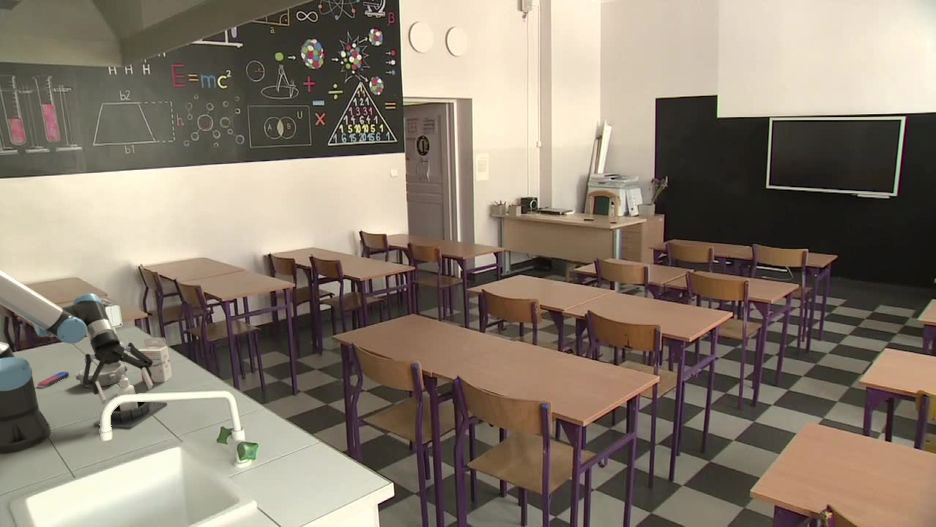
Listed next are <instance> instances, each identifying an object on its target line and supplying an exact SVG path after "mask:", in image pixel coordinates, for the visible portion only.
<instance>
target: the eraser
mask: <svg viewBox="0 0 936 527" xmlns="http://www.w3.org/2000/svg"><path fill="white" fill-rule="evenodd" d="M69 374H70V373H69V371H68V372H67V371H61V372H58V373H55V374H53V375H51V376H50V377H48V378H46V379H44V380H42V381H40V382H38V383H37V388H38V389H46V388H49V387H52V386H53V384H54V385H55V383H56V384H57V382H58V381H60V380H62V379H64V378H66V377H68V376H69V377H70V375H69ZM69 377H68V378H69ZM66 379H67V378H66ZM64 380H65V379H64ZM62 381H63V380H62ZM60 382H61V381H60ZM58 383H59V382H58Z"/></svg>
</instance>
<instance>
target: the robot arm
mask: <svg viewBox="0 0 936 527" xmlns="http://www.w3.org/2000/svg"><path fill="white" fill-rule="evenodd" d="M0 305H1V306H2V307H5V308H6V309H8V310H10V311H11V312H14V313H15V314H16V315H18V316H20V317H21V318H23V319H25V320H26V321H29V323H32V324H33V328H34V330H35V332H36V334H37V336H38V337H40V338H44V337H51V336H54V337H55V338H57V339H58V340H59V341H61V342H62V343H65V344H70V345H71V344H77V343H80V342H81V341H82V340H84V338H85V337H86V336H87V339H88V341H89V342H90V346H91V349H92V350H93V354H90V353H86V354H85V357H84V362H85V366H84V367H85V368H84V370H85V372H84V377H83V382H82V384H81V386H82V387H84V386H89V387H88V388H90V390H92V394H93V395H98V398H99V400H100V402H101V405H104V404H106V401H107V398H106V396H105V393H104V392H103V389H102V386H100V384H99V382H98V381H96V380H97V378H98V376H99V374H100V372H101V370H102V368H103V366H104V364H108V365H110V364H112V363H117V362H121V363H125V364H128V365H131V366H134V367H135V368H138V369H139V370H140V374H141V373H142V375H143V377H144V379H145V382H144V383H145V384H146V386H147V388H148V390H152V389H153V385H154V384H153V383H154V382H152V381H151V379H150V378H151V376H152V374H151V372H150V369H149V367H151V366H152V364H153V361H152V360H151V359H150V358H148V357H147V356H146V355H144V354H143V353H142V352H140V351H139V349H138V348H136V347H135V345H134V343H132V342H129V343H128V344H126V345H124V346H123V345H122V344H121V342H120V339H119V338H118V336H117V333H116V331H115V329H114V327H113V324H112V323H111V321H110V319H109V316H108V314H107V311H106V309H105V306H104V304H103V302H102V301H101V299H100V298H99V295H97V294H95V293H92V292H91V293H90V292H89V293H84V294H82V295H80V296H78V297H76V298H74V300H73V303H72V305H67V306H63V307H61V306H59V305H57V304H56V303H54V302H53V301H51V300H49V299H48V298H46V297H45V296H43V295H41V294H40V293H38V292H37V291H35V290H33V289H32V288H30V287H28V286H26V285H25V284H24V283H23V282H20V281H19V280H18V279H16V278H14V277H13V276H11V275H9V274H8V273H6V272H4V271H3V270H1V269H0ZM125 351H126V352H125ZM128 353H130V355H132V356H130V355H129V354H128ZM94 359H96V360H97V361H99V362H98V365H97V367H96V368H95V371H93V372H94V374H93V376H92V378H91V380H88V376H89V372H90V370H91V369H90V368H91V364H92V363H93V362H94ZM30 364H31V363H29V361H28V360H27V359H25V358H23V357H18V356H17V357H15V354H14V353H13V350H12V349H11V347H10V344H9V343H6V342H2V341H0V454H7V453H8V452H9V453H14V451H15V452H19V451H22V450H26V449H29V448H31V447H34V446H36V445H39V444H40V443H42V442H44V441H46V440H47V439H48V438H49V437H50V436H51V434H52V429H51V426H50V423H49V422H48V421H47V419H46V417H45V416H44V414H43V413H42V411H41V410H40V407H39V402H38V398H37V392H36V388H35V384H34V383H35V382H34V379H33V369H32V367H31V365H30ZM141 369H142V371H141ZM142 375H141V376H142Z"/></svg>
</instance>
